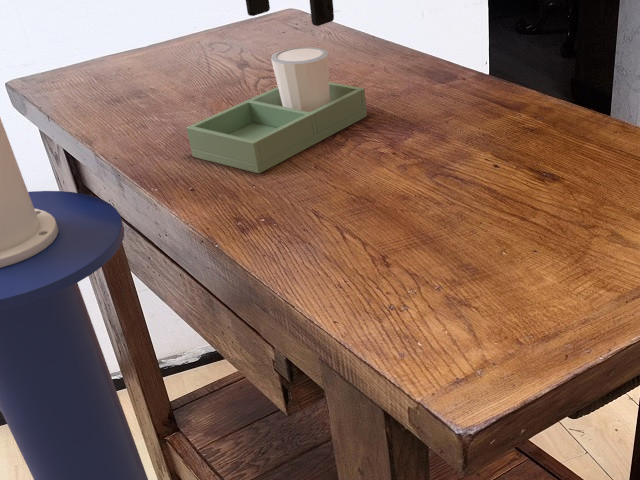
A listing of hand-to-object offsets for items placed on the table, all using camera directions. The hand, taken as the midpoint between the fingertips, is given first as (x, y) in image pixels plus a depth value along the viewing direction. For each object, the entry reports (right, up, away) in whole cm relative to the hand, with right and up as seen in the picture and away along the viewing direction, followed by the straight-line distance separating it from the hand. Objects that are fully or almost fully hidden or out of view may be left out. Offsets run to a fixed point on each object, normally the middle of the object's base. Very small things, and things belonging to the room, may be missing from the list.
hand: (290, 18), depth 96 cm
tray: (-2, -12, +5) cm, 13 cm away
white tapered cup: (+1, -8, +7) cm, 11 cm away
